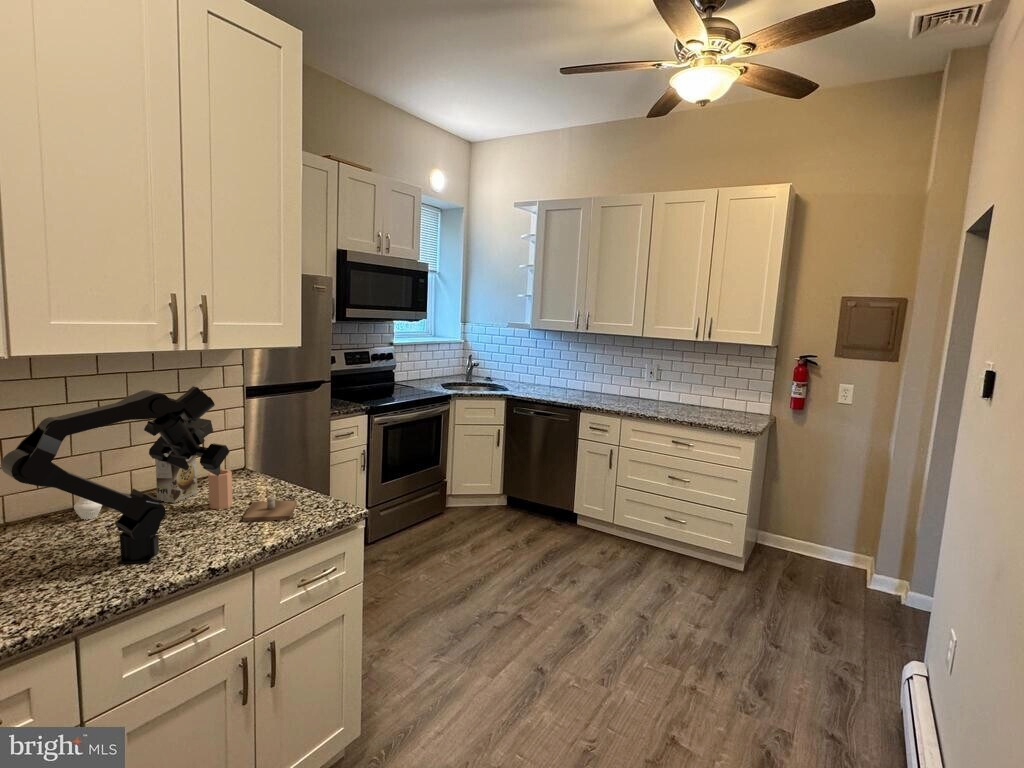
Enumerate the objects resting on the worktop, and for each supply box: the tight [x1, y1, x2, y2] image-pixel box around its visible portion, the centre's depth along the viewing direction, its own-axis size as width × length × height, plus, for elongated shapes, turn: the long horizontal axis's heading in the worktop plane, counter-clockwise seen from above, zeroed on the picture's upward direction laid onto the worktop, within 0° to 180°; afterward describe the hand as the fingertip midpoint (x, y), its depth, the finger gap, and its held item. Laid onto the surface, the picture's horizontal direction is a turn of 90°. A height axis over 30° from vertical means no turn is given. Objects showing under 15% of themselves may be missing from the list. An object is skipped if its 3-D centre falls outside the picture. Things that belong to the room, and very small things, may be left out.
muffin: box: [73, 497, 103, 521], centre depth 149 cm, size 6×6×7 cm
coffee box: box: [155, 455, 198, 504], centre depth 165 cm, size 9×6×16 cm
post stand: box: [242, 496, 298, 523], centre depth 158 cm, size 12×12×5 cm
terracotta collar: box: [207, 468, 234, 510], centre depth 161 cm, size 6×6×10 cm
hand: (203, 471), depth 144 cm, fingers open, 9 cm apart
